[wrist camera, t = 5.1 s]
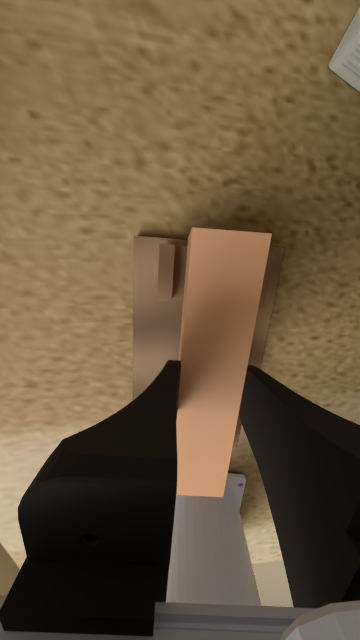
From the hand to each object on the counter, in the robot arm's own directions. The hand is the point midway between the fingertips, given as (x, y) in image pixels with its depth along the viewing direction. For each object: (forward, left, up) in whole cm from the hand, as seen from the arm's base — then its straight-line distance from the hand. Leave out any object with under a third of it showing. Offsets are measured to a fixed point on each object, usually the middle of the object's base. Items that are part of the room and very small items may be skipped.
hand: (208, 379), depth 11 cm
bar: (0, 0, -3) cm, 3 cm away
